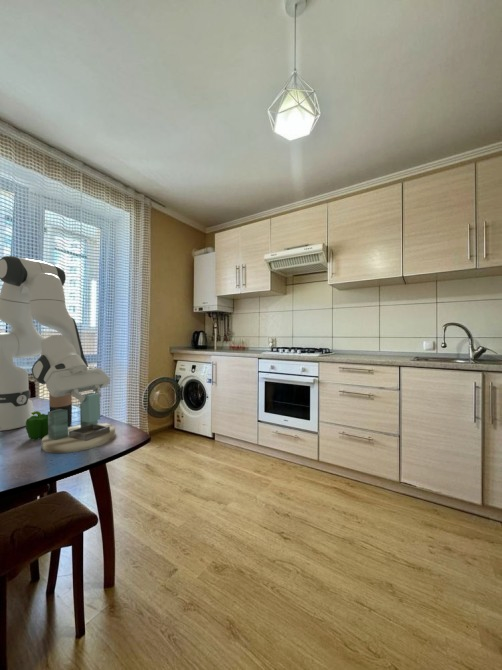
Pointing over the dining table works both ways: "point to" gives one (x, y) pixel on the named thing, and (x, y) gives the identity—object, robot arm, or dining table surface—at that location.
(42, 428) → the bell pepper
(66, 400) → the travel mug
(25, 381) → the robot arm
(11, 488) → the dining table surface
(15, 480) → the dining table surface
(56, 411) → the stool seat
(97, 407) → the loose leg
